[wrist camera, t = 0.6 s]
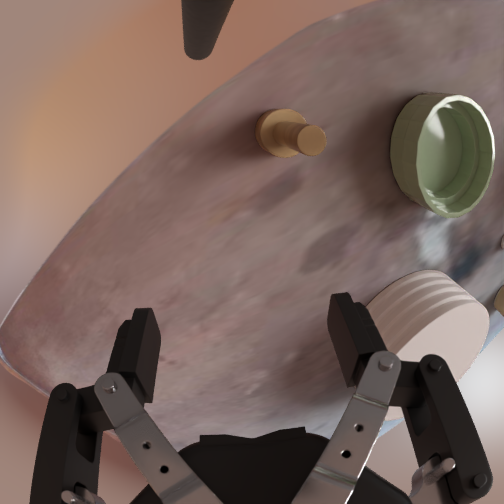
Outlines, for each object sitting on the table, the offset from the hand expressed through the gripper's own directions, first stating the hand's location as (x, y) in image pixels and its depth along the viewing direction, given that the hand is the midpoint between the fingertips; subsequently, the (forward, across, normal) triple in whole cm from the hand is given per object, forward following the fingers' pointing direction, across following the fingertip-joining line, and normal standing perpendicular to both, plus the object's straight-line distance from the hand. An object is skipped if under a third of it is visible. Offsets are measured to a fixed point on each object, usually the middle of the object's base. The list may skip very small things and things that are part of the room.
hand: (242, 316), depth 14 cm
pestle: (+27, -6, -3) cm, 28 cm away
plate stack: (+26, -31, +35) cm, 54 cm away
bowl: (+30, -30, 0) cm, 42 cm away
